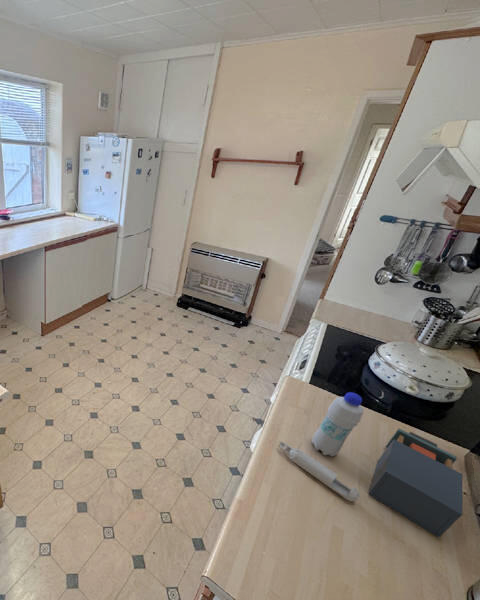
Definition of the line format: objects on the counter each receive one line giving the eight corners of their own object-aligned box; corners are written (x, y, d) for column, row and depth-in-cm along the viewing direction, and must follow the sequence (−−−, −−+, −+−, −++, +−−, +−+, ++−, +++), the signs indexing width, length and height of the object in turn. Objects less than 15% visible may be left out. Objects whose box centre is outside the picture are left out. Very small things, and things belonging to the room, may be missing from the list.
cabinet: (377, 460, 88) (393, 439, 84) (441, 496, 80) (462, 473, 76) (367, 494, 79) (385, 471, 75) (438, 537, 71) (462, 514, 67)
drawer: (388, 436, 95) (400, 419, 92) (442, 463, 88) (457, 446, 85) (378, 472, 84) (391, 454, 81) (439, 507, 76) (456, 489, 73)
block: (403, 454, 88) (412, 442, 86) (426, 465, 85) (436, 454, 83) (401, 463, 85) (410, 451, 83) (424, 476, 82) (435, 464, 80)
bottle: (338, 463, 86) (374, 408, 77) (309, 451, 89) (340, 396, 80) (336, 446, 91) (369, 392, 82) (308, 435, 94) (338, 382, 85)
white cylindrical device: (357, 497, 78) (370, 479, 75) (351, 508, 75) (364, 490, 72) (281, 444, 90) (289, 427, 88) (273, 452, 88) (281, 435, 85)
